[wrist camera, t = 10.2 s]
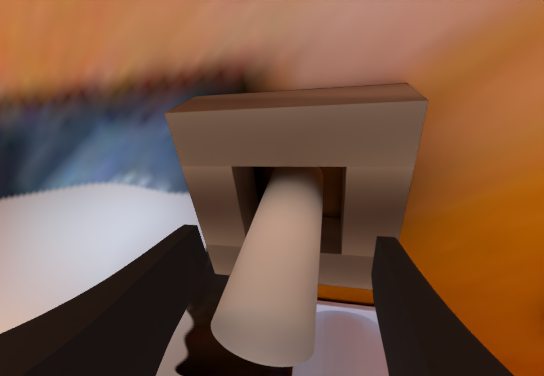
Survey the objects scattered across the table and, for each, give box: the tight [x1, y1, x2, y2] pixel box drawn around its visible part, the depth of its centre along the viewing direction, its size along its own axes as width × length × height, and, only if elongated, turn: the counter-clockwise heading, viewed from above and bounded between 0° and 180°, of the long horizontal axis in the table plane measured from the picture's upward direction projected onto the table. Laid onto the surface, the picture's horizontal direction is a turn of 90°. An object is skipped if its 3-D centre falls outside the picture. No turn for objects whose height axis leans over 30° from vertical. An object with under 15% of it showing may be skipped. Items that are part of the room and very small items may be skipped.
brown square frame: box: [164, 83, 429, 290], centre depth 14 cm, size 10×10×3 cm
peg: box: [211, 167, 324, 367], centre depth 11 cm, size 3×3×9 cm
